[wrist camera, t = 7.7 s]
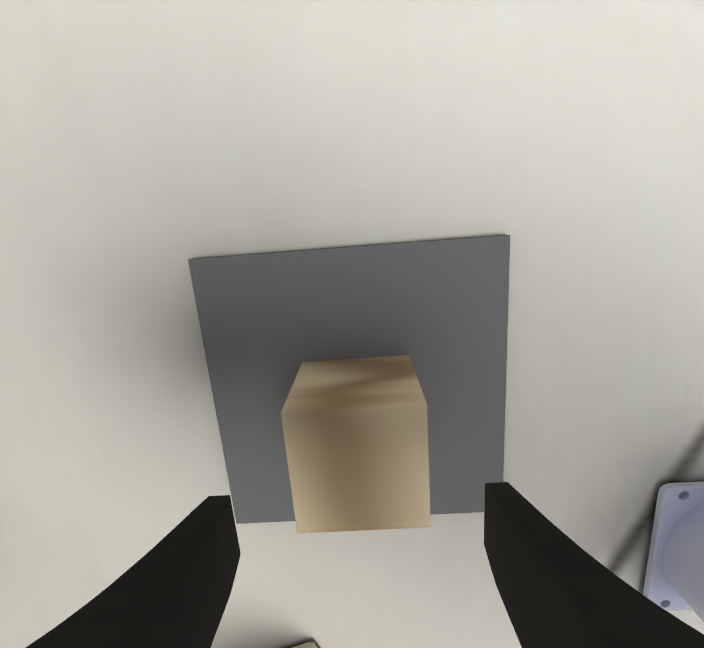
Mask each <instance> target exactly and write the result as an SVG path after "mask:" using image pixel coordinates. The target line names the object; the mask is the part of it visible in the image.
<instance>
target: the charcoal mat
mask: <svg viewBox="0 0 704 648" xmlns="http://www.w3.org/2000/svg"><path fill="white" fill-rule="evenodd" d="M509 257H510V235H498V236H485V237H471V238H458V239H445V240H432V241H419V242H406V243H392V244H379V245H366V246H353V247H340V248H327V249H313V250H300V251H287V252H274V253H261V254H248V255H235V256H221V257H208V258H195V259H189V260H188V261H189V266H190V272H191V277H192V283H193V288H194V294H195V299H196V305H197V310H198V315H199V321H200V326H201V332H202V337H203V343H204V348H205V354H206V359H207V364H208V370H209V375H210V381H211V386H212V392H213V397H214V403H215V408H216V414H217V419H218V424H219V430H220V435H221V441H222V446H223V452H224V457H225V463H226V468H227V473H228V479H229V484H230V490H231V495H232V501H233V506H234V512H235V517H236V522H237V524H238V523H259V522H280V521H296V520H295V513H294V506H293V498H292V491H291V484H290V477H289V469H288V462H287V455H286V448H285V440H284V433H283V426H282V419H281V411H282V409H283V407H284V404H285V402H286V400H287V397H288V395H289V392H290V390H291V388H292V385H293V383H294V380H295V378H296V376H297V373H298V371H299V369H300V366H301V364H302V362H308V361H323V360H338V359H354V358H369V357H384V356H399V355H409V356H410V359H411V362H412V365H413V367H414V370H415V373H416V376H417V378H418V381H419V384H420V386H421V389H422V392H423V395H424V397H425V400H426V403H427V419H428V452H429V486H430V514H451V513H472V512H485V483H500V482H503V463H504V428H505V394H506V360H507V325H508V291H509Z"/></svg>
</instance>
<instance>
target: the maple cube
mask: <svg viewBox="0 0 704 648" xmlns="http://www.w3.org/2000/svg"><path fill="white" fill-rule="evenodd" d="M281 419H282V426H283V433H284V440H285V448H286V455H287V462H288V469H289V477H290V484H291V491H292V498H293V506H294V513H295V520H296V527H297V533H313V532H334V531H356V530H377V529H398V528H419V527H431V519H430V486H429V452H428V419H427V403H426V400H425V397H424V395H423V392H422V389H421V386H420V384H419V381H418V378H417V376H416V373H415V370H414V367H413V365H412V362H411V359H410V356H409V355H399V356H384V357H369V358H354V359H338V360H323V361H308V362H302V364H301V366H300V369H299V371H298V373H297V376H296V378H295V380H294V383H293V385H292V388H291V390H290V392H289V395H288V397H287V400H286V402H285V404H284V407H283V409H282V411H281Z"/></svg>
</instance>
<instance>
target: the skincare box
mask: <svg viewBox="0 0 704 648" xmlns="http://www.w3.org/2000/svg"><path fill="white" fill-rule="evenodd" d="M291 648H318V647H317V646H316V645H315V643H314V642H308V643H304V644H301V645H298V646H294V647H291Z"/></svg>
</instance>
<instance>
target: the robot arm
mask: <svg viewBox="0 0 704 648" xmlns="http://www.w3.org/2000/svg"><path fill="white" fill-rule="evenodd" d="M681 492H682V493H681ZM484 545H485V549H486V552H487V556H488V559H489V563H490V566H491V570H492V573H493V576H494V579H495V583H496V585H497V588H498V590H499V593H500V595H501V598H502V600H503V603H504V605H505V608H506V610H507V613H508V615H509V617H510V620H511V622H512V625H513V627H514V629H515V632H516V634H517V637H518V639H519V641H520V644H521V646H522V648H704V635H703V634H702V633H700V632H699V631H697V630H695V629H694V628H692V627H691V626H689V625H687V624H686V623H684V622H683V621H681V620H679V619H678V618H676V617H675V616H673V615H672V614H670V613H669V612H667V611H666V610H679V609H693V610H694V611H695V613H696V614H697V615H698V616H699V617H700V618H701V620H702V621H703V622H704V481H702V482H682V483H668V484H664V485H663V486H661V487H660V489H659V491H658V497H657V504H656V510H655V517H654V523H653V530H652V537H651V543H650V550H649V557H648V563H647V570H646V576H645V583H644V590H643V594H641V593H640V592H638V591H637V590H635V589H634V588H633V587H631V586H630V585H628V584H627V583H626V582H624V581H623V580H621V579H620V578H619V577H617V576H616V575H615V574H613V573H612V572H611V571H609V570H608V569H607V568H606V567H604V566H603V565H602V564H601V563H599V562H598V561H597V560H595V559H594V558H593V557H592V556H590V555H589V554H588V553H587V552H585V551H584V550H583V549H582V548H581V547H579V546H578V545H577V544H576V543H574V542H573V541H572V540H571V539H570V538H569V537H568V536H566V535H565V534H564V533H563V532H562V531H561V530H559V529H558V528H557V527H556V526H555V525H554V524H553V523H551V522H550V521H549V520H548V519H547V518H546V517H545V516H544V515H543V514H541V513H540V512H539V511H538V510H537V509H536V508H535V507H534V506H533V505H532V504H531V503H529V502H528V501H527V500H526V499H525V498H524V497H523V496H522V495H521V494H520V493H519V492H518V491H516V490H515V489H514V488H513V487H512V486H511V485H510V484H509V483H508V482H500V483H485V515H484ZM239 558H240V548H239V543H238V537H237V532H236V527H235V521H234V516H233V510H232V505H231V499H230V495H225V496H209V497H208V498H206V499H205V500H204V501H203V502H202V503H201V504H200V505H199V506H198V507H196V508H195V509H194V510H193V511H192V512H191V513H190V514H189V515H188V516H187V517H186V518H185V519H184V520H183V521H182V522H181V523H179V524H178V525H177V526H176V527H175V528H174V529H173V530H172V531H171V532H170V533H169V534H168V535H167V536H166V537H164V538H163V539H162V540H161V541H160V542H159V543H158V544H157V545H156V546H155V547H154V548H153V549H151V550H150V551H149V552H148V553H147V554H146V555H145V556H144V557H142V558H141V559H140V560H139V561H138V562H137V563H135V564H134V565H133V566H132V567H131V568H130V569H128V570H127V571H126V572H125V573H124V574H123V575H122V576H120V577H119V578H118V579H117V580H116V581H115V582H113V583H112V584H111V585H110V586H109V587H107V588H106V589H105V590H104V591H102V592H101V593H100V594H99V595H97V596H96V597H95V598H94V599H92V600H91V601H90V602H89V603H87V604H86V605H85V606H83V607H82V608H81V609H79V610H78V611H77V612H75V613H74V614H73V615H71V616H70V617H69V618H67V619H66V620H65V621H63V622H62V623H61V624H59V625H58V626H56V627H55V628H54V629H52V630H51V631H49V632H48V633H46V634H45V635H44V636H42V637H41V638H39V639H38V640H36V641H35V642H33V643H32V644H30V645H29V646H27V647H26V648H210V647H211V645H212V642H213V639H214V637H215V634H216V631H217V629H218V626H219V623H220V621H221V618H222V615H223V613H224V610H225V607H226V604H227V602H228V599H229V596H230V593H231V590H232V586H233V582H234V578H235V575H236V570H237V566H238V562H239Z"/></svg>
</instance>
